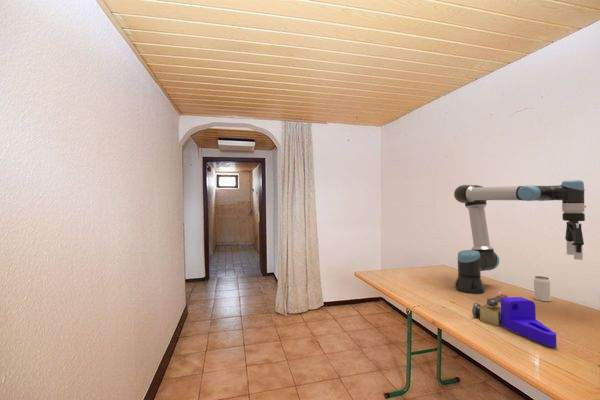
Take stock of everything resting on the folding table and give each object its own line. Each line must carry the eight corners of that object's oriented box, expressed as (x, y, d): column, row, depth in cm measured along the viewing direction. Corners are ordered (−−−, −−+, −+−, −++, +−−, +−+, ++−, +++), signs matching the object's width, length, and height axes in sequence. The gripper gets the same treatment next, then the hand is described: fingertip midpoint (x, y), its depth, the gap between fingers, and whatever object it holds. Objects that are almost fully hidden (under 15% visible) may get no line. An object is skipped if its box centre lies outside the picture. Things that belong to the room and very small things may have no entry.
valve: (471, 318, 124) (471, 302, 124) (478, 314, 127) (478, 298, 128) (508, 329, 112) (507, 311, 112) (515, 325, 116) (514, 308, 116)
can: (553, 302, 142) (553, 279, 142) (539, 301, 143) (538, 278, 143) (545, 298, 148) (544, 276, 148) (531, 297, 149) (531, 275, 150)
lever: (495, 306, 117) (495, 302, 117) (485, 303, 120) (485, 299, 120) (509, 299, 126) (509, 295, 126) (499, 297, 129) (499, 293, 129)
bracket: (501, 325, 115) (500, 297, 115) (526, 324, 115) (525, 296, 115) (539, 347, 97) (538, 314, 97) (569, 346, 97) (568, 313, 97)
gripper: (592, 213, 117) (594, 262, 117) (577, 211, 137) (578, 253, 137) (568, 213, 121) (569, 260, 121) (557, 211, 142) (557, 252, 141)
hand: (574, 257), depth 129 cm, fingers open, 13 cm apart
